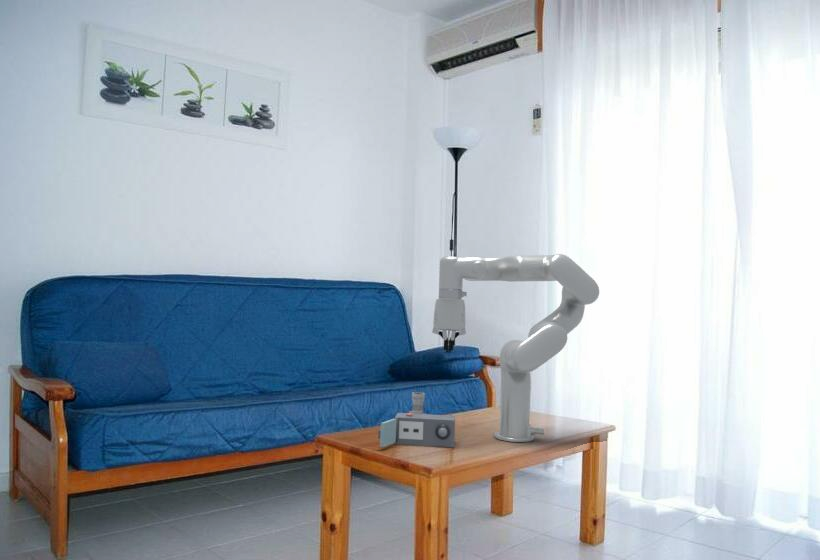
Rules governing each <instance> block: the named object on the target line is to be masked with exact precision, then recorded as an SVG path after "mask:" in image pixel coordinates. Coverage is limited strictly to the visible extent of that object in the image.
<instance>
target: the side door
mask: <svg viewBox="0 0 820 560" xmlns="http://www.w3.org/2000/svg"><path fill="white" fill-rule="evenodd" d="M377 434H378V435H377V439H378V440H379V447H380V448H384V447H387V446H390V445H393V444H394V443H395V442H396V419H395V418H391V419H389V420H385V421H383V422H380V429H378V431H377Z"/></svg>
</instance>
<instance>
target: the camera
mask: <svg viewBox="0 0 820 560" xmlns="http://www.w3.org/2000/svg"><path fill="white" fill-rule="evenodd" d="M425 395H426V394H425V392H420V391H412V393H411V401H412V409H411V410H409V411H408V413H412V414H426V413H425V412H424V401H425V398H426V397H425Z"/></svg>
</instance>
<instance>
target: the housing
mask: <svg viewBox="0 0 820 560" xmlns="http://www.w3.org/2000/svg"><path fill="white" fill-rule="evenodd" d="M394 419H396V442H395V443H393V445H403V446H404V445H405V446H420V447H421V446H422V447H437V448H438V447H439V448H455V440H456V439H455V436H456V415H446V414H429V413H428V414H427V413H425V414H412V413H409V412H396V415H395V417H394Z"/></svg>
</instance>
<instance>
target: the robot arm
mask: <svg viewBox="0 0 820 560" xmlns="http://www.w3.org/2000/svg"><path fill="white" fill-rule="evenodd" d="M438 273H439V277H438V279H439V280H438V298H436V300H435V302H434V311H433V320H432V321H433V328H432V330H431V331H432V334H435V335H439V336H440V338H442V340H443V350H444V351H445V353H446V354H447V353H449V354H452V351H454V340H455V339H456V338H457V337H459V336H465V335H466V334H467V333H466V332H467V331H466V305H465V304H466V303H465V300H464V299H463V297H464V298H465V297H467V292H466V291H463V279H464V280H466V281H470V282H482V281H483V282H484V281H485V282H490V281H492V282H494V281H499V282H513V283H514V282H554V281H555V282H558V283H559V285H561V286H562V289H561V302H560V304H559V306H558V307H557V308H556V309H555V310H553V312H551V313H550V314H548V315H547V316H546V317H545V318H543V319H541V320H540V321H538V322H537V323H536V324H534V325H533V326H532V327H531V328H530V329H529V332H528V334H527V338H526V339H523V340H520V339H512V340H509V341H507V342H506V343H504V344H503V346H502V348H501V349H500V353H499V364H500V365H499V367H500V397H499V398H500V399H499V401H500V404H499V430H498V431H495V432H494V435H493V436H494V438H495V439H497V440H501V441H505V442H514V443H526V442H527V443H528V442H532V441H534V439H535V435H539V436H540V435H543V436H544V434H545V429H544V428H539V427H534V426H531V423H530V413H531V411H530V410H531V385H532V383H531V382H532V381H531V372H533V371H535V370H537V369H539V367H541V366H542V365H545V363H547V362H548V361H549V360H551V359H552V358H554V356H555V357H556V355H558V354H559V353H560V352H561V351H562V350H563V349H564V348H565V346H566V345H567V341H568V334H570V333H571V332H572V331H573V330H575V328H577V327H578V326H579V324H580V323H581V322H582V320H583V318H584V313H585V307H586V305H591V304H593V303H595V302H596V301H597V299H598V298H599V295H600V287H599V285H598V283H597V282H596V280H595V279H594V278H592V276H591V275H590V274H588V272H586V271H585V270H584V269H582V267H580V265H579V264H577V263H576V261H574V260H573V259H572V258H570V257H569V256H568V255H566V254H563V253H558V254H549V255H548V254H547V255H546V254H545V255H544V254H543V255H536V254H535V255H523V254H521V255H518V254H517V255H509V256H505V257H504V256H503V257H496V258H495V257H494V258H482V257H480V256H470V257H459V256H442V257H441V258H440V260H439V271H438ZM447 331H451V334H450V337H448V334H447V333H448V332H447Z"/></svg>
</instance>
